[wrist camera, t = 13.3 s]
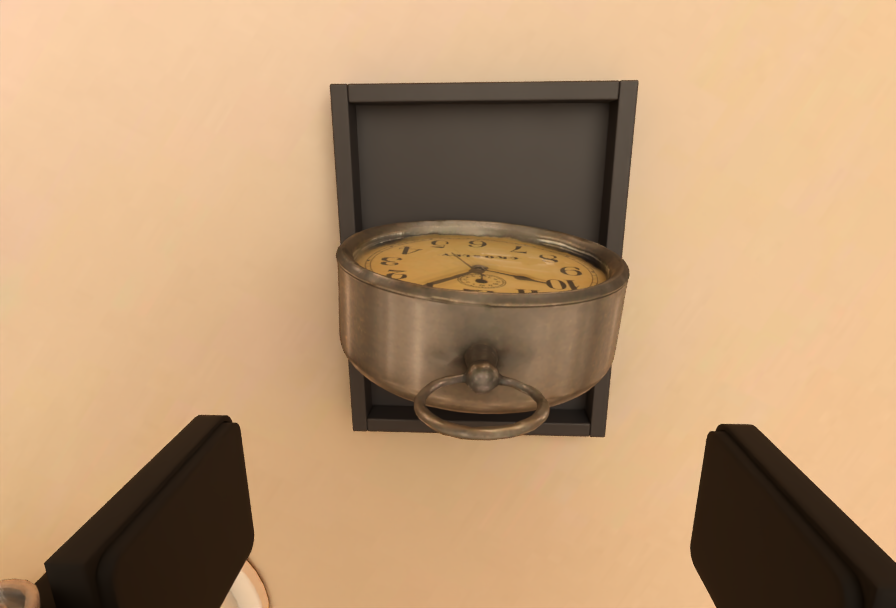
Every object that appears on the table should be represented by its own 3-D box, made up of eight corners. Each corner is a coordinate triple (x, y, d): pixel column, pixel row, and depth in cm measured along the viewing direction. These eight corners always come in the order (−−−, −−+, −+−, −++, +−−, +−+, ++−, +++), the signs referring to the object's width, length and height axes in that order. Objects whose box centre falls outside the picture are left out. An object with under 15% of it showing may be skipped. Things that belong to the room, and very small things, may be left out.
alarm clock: (590, 223, 26) (757, 343, 10) (576, 325, 28) (702, 559, 12) (373, 210, 26) (224, 305, 11) (372, 310, 28) (241, 519, 12)
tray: (360, 413, 30) (352, 431, 28) (340, 88, 25) (329, 83, 23) (596, 418, 30) (605, 437, 28) (626, 84, 24) (639, 80, 22)
